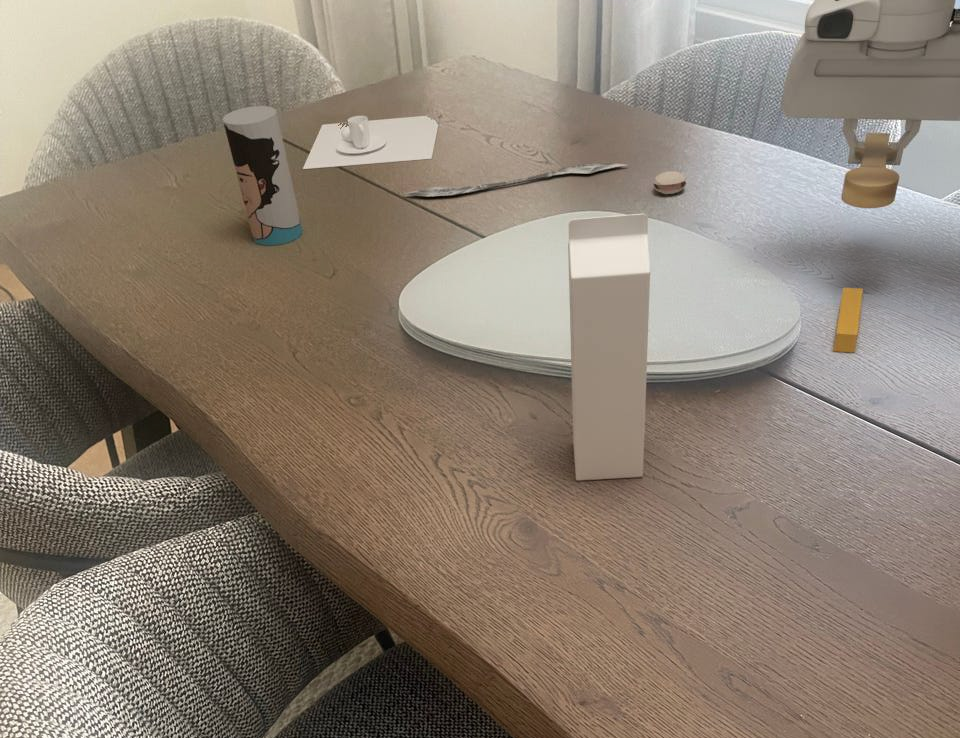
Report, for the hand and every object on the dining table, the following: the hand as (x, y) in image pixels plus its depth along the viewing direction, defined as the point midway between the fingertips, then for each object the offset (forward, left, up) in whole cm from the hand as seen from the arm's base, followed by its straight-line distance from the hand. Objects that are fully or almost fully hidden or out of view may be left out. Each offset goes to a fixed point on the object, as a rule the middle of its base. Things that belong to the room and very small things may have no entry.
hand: (873, 162), depth 101 cm
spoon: (0, 0, -2) cm, 2 cm away
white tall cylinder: (+68, +29, -12) cm, 75 cm away
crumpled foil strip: (+51, -1, -12) cm, 53 cm away
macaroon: (+31, -9, -12) cm, 35 cm away
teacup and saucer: (+83, -3, -12) cm, 84 cm away
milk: (0, +45, -12) cm, 47 cm away
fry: (-6, +12, -12) cm, 18 cm away
